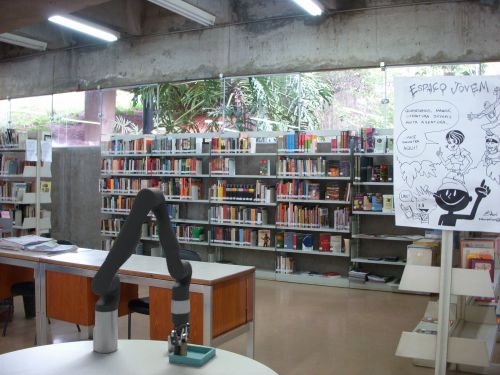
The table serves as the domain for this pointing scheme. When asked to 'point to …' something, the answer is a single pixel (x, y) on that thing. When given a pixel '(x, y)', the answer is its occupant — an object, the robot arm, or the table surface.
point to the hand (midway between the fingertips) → (180, 352)
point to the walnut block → (182, 349)
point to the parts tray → (194, 355)
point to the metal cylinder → (170, 347)
